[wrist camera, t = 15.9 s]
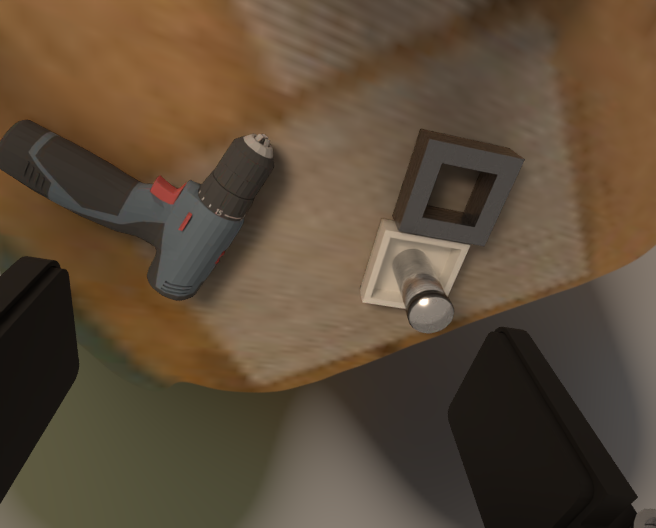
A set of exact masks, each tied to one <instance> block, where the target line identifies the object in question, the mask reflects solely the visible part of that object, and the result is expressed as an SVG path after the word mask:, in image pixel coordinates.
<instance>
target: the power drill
mask: <svg viewBox="0 0 656 528" xmlns="http://www.w3.org/2000/svg"><path fill="white" fill-rule="evenodd" d="M269 143H270V140H268V137H267V136H266V135H265V134H262V135H261V134H258V135H256V134H250V135H248V136H243V137H240V138H237V139H234V141H233V142H232V144H231V145H230V147H229V148H228V149H227V151H226V152H225V154H224V155H223V157H222V159H221V160H220V162H219V163H218V165H217V167H216V168H215V170H213V171H212V173H211V174H210V175H209V176H208V177H207V178H206V180H205V181H204V182H203V184H199V183H196V182H194V181H192V180H189V181H188V182H187V184H186V183H185V184H184V185H183V186H182V187H181V188H179V189H177V188H175V187H173V186H172V185H171V184H169V183H168V182H167V181H166V180H165V179H164V178H162V177H161V176H158V177H157V179H156V181H155V182H154V184H145V183H141V182H139V181H138V180H136V179H134V178H133V177H131V176H129V175H127V174H126V173H124V172H122V171H121V170H119V169H118V168H117V167H115V166H114V165H112V164H110V163H108V162H107V161H105V160H103V159H101V158H100V157H98V156H96V155H94V154H93V153H91V152H89V151H87V150H85V149H84V148H82V147H80V146H78V145H76V144H74V143H72V142H70V141H69V140H67V139H65V138H63V137H61V136H59V135H57V134H55V133H53V132H51V131H49V130H47V129H45V128H44V127H42V126H40V125H38V124H36V123H34V122H32V121H30V120H22V121H19V122H17V123H15V124H14V125H13V126H12V127H11V128H10V129H9V130H8V131H7V132H6V134H5V135H4V136H3V138H2V139H1V141H0V169H1V170H2V171H4V172H5V173H7V174H9V175H10V176H12V177H13V178H15V179H16V180H18V181H20V182H21V183H23V184H24V185H26V186H27V187H29V188H30V189H32V190H34V191H35V192H37V193H39V194H41V195H42V196H44V197H46V198H48V199H50V200H51V201H53V202H55V203H57V204H59V205H61V206H62V207H64V208H66V209H68V210H70V211H72V212H74V213H76V214H78V215H80V216H82V217H84V218H86V219H89V220H91V221H93V222H96V223H98V224H100V225H103V226H105V227H107V228H110V229H112V230H115V231H118V232H122V233H126V234H130V235H134V236H137V237H139V238H141V239H143V240H145V241H147V242H149V243H150V244H152V245H153V246H154V247H155V248H156V250H157V252H156V256H155V258H154V259H153V261H152V263H151V265H150V267H149V270H148V273H147V278H148V281H149V283H150V285H151V286H152V287H153V288H154V289H155V290H156V291H157V292H159V293H160V294H161V295H162V296H165V297H167V298H170V299H173V300H181V301H182V300H185V299H188V298H191V297H193V296H194V295H195V294H196V292H197V291H198V290H199V288H200V287H201V285H202V284H203V283H204V281H205V280H206V279H207V277H208V276H209V274H210V273H211V271H212V270H213V269H214V267H215V266H216V264H217V263H218V262H219V258H220V257H222V256H223V255H224V253H225V250H226V249H227V248H228V247H229V246H230V244H231V243H232V241H233V240H234V238H235V236H236V235H237V233H238V232H239V230H240V228H241V227H242V225H243V223H244V217H245V216H246V214H247V212H248V210H249V208H250V206H251V204H252V202H253V200H254V197H255V196H256V194H257V193H258V191H259V190H260V188H261V187H262V186H263V185H264V182H265V181H266V179H267V178H268V176H269V174H270V173H271V171H272V169H273V168H274V161H273V148H272V146H271V145H270V144H269ZM185 185H186V186H185ZM183 188H184V189H183Z"/></svg>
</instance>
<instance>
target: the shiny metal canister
mask: <svg viewBox="0 0 656 528" xmlns="http://www.w3.org/2000/svg"><path fill="white" fill-rule="evenodd" d="M392 270H393V273H394V276H395V279H396V282H397V285H398V288H399V291H400V293H401V296H402V299H403V302H404V305H405V308H406V314H407V317H408V320H409V323H410V325H411V326H412V327H413V328H414V329H416V330H417V331H419V332H422V333H434V332H437V331H440V330H442V329H444V328H445V327H446V326H448V324H449V323H450V322H451V320H452V318H453V315H454V308H453V305H452V303H451V301H450V299H449V297H448V296H447V295H446V294H445V292H444V290H443V288H442V286H441V284H440V282H439V279H438V277H437V275H436V273H435V271H434V269H433V267H432V265H431V263H430V261H429V259H428V257H427V255H426V254H425V253H424V252H423V251H421V250H418V249H407V250H404V251H402V252H400V253H399V254H398V255H397V256H396V257H395V258H394V260H393V263H392Z"/></svg>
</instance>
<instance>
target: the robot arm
mask: <svg viewBox="0 0 656 528" xmlns="http://www.w3.org/2000/svg"><path fill="white" fill-rule="evenodd" d="M78 370H79V358H78V349H77V341H76V332H75V323H74V315H73V306H72V298H71V289H70V280H69V274H68V271H67V270H65V269H61V268H60V265H59V263H58V262H57V261H55V260H48V259H41V258H35V257H28V256H25V257H22V258H20V259H19V260H18V261H16V262H15V263H14V264H13V265H12V266H11V267H10V268H9V269H8V270H6V271H5V272H4V273H3V274H2V275H1V276H0V503H1V502H2V500H3V498H4V497H5V495H6V494H7V492H8V490H9V489H10V487H11V485H12V483H13V482H14V480H15V478H16V477H17V475H18V474H19V472H20V470H21V469H22V467H23V465H24V464H25V462H26V460H27V459H28V457H29V455H30V454H31V452H32V450H33V449H34V447H35V445H36V444H37V442H38V441H39V439H40V437H41V436H42V434H43V432H44V431H45V429H46V427H47V426H48V424H49V422H50V421H51V419H52V417H53V416H54V414H55V413H56V411H57V409H58V408H59V406H60V404H61V402H62V401H63V399H64V397H65V396H66V394H67V393H68V391H69V389H70V388H71V386H72V384H73V383H74V381H75V379H76V377H77V374H78ZM448 420H449V423H450V427H451V430H452V432H453V435H454V438H455V441H456V444H457V447H458V450H459V453H460V456H461V459H462V461H463V465H464V467H465V470H466V474H467V476H468V479H469V482H470V485H471V488H472V491H473V494H474V497H475V500H476V503H477V506H478V509H479V511H480V514H481V518H482V520H483V523H484V526H485V528H656V509H643V510H641V511H640V512H638V513H636V511H635V509H634V508H633V506H632V505H631V503H632V502H633V501H634V500H636V499H637V498H638V496H637V495H636V494H635V492H634V491H633V489H632V488H631V486H630V485H629V483H628V482H627V480H626V479H625V477H624V476H623V474H622V473H621V471H620V470H619V468H618V467H617V465H616V464H615V462H614V461H613V460H612V458H611V456H610V455H609V453H608V452H607V450H606V449H605V447H604V446H603V444H602V443H601V441H600V440H599V438H598V437H597V435H596V434H595V432H594V431H593V429H592V428H591V426H590V425H589V423H588V422H587V420H586V419H585V418H584V416H583V414H582V413H581V411H580V410H579V408H578V407H577V405H576V404H575V403H574V401H573V400H572V398H571V396H570V395H569V394H568V392H567V391H566V389H565V387H564V386H563V385H562V383H561V382H560V380H559V379H558V377H557V376H556V374H555V373H554V371H553V370H552V368H551V367H550V365H549V364H548V362H547V361H546V359H545V358H544V356H543V355H542V353H541V352H540V350H539V349H538V347H537V346H536V344H535V343H534V341H533V340H532V338H531V337H530V335H529V334H528V333H527V332H526V331H524V330H520V329H514V328H507V327H499V328H497V329H496V330H495V331H494V332H490V333H489V334H488V336H487V337H486V339H485V341H484V343H483V345H482V347H481V348H480V350H479V352H478V354H477V356H476V358H475V360H474V361H473V363H472V365H471V367H470V369H469V371H468V373H467V374H466V376H465V378H464V380H463V382H462V384H461V386H460V388H459V389H458V391H457V393H456V395H455V397H454V399H453V401H452V402H451V404H450V406H449V410H448Z"/></svg>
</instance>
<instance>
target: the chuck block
mask: <svg viewBox="0 0 656 528" xmlns="http://www.w3.org/2000/svg"><path fill="white" fill-rule="evenodd" d="M524 160H525V159H524V158H522V157H521V156H519V155H518V154H517V153H515V152H514V151H513V150H511V149H510V148H506V147H502V146H497V145H492V144H488V143H483V142H479V141H474V140H470V139H465V138H460V137H456V136H451V135H447V134H442V133H437V132H433V131H428V130H424V129H420V132H419V135H418V138H417V141H416V144H415V147H414V150H413V153H412V157H411V160H410V163H409V166H408V169H407V172H406V175H405V178H404V181H403V184H402V187H401V190H400V194H399V197H398V200H397V203H396V206H395V209H394V212H393V215H392V216H393V219H394V221H395V224H396V226H397V229H398V231H402V232H407V233H413V234H418V235H424V236H430V237H435V238H441V239H446V240H452V241H458V242H463V243H469V244H475V245H480V246H485V244H486V242H487V240H488V238H489V235H490V233H491V231H492V229H493V227H494V225H495V223H496V220H497V218H498V216H499V214H500V212H501V210H502V208H503V205H504V203H505V201H506V199H507V197H508V195H509V192H510V190H511V188H512V186H513V184H514V182H515V180H516V177H517V175H518V173H519V171H520V169H521V167H522V165H523V162H524ZM442 163H444V164H448V165H453V166H458V167H463V168H468V169H473V170H477V171H481V172H480V174H479V177H478V179H477V182H476V184H475V186H474V189H473V191H472V194H471V196H470V198H469V201H468V203H467V206H466V208H465V210H464V212H459V211H454V210H448V209H443V208H438V207H433V206H427V203H428V200H429V197H430V195H431V192H432V189H433V186H434V184H435V181H436V178H437V175H438V173H439V170H440V167H441V164H442Z"/></svg>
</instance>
